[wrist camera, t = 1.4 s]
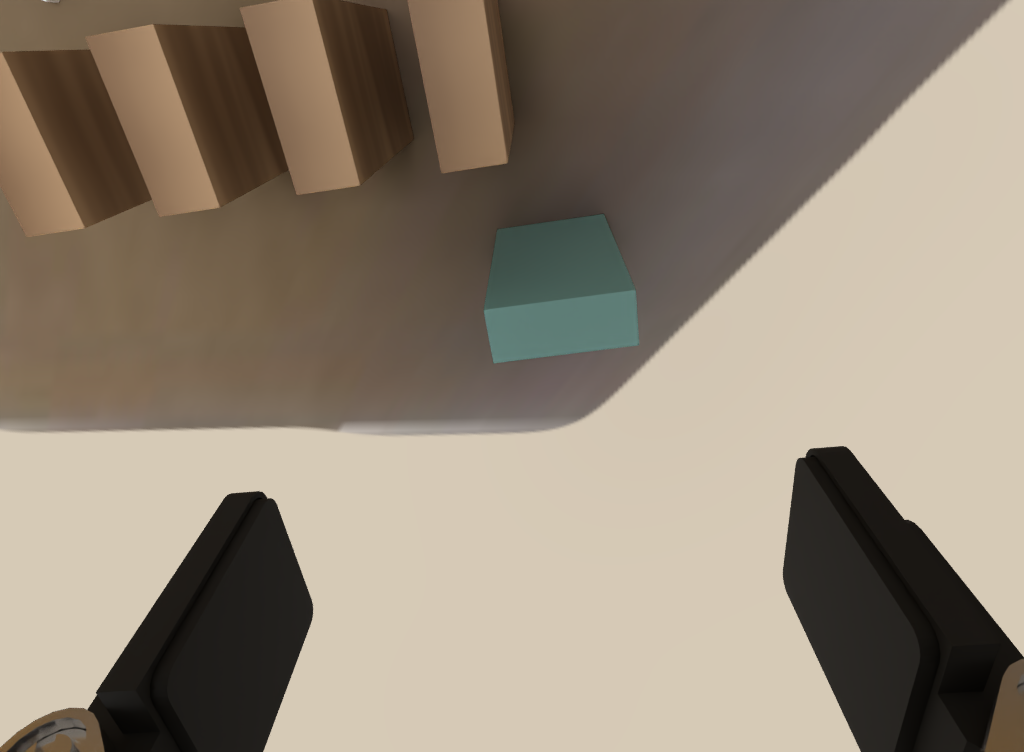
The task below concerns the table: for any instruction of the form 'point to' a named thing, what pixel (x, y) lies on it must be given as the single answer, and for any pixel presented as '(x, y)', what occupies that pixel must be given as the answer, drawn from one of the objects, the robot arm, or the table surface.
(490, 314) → the tile
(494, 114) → the tile
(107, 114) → the tile
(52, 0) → the external hard drive
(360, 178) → the brown flat rectangular block
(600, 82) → the table surface
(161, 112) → the brown wooden block
